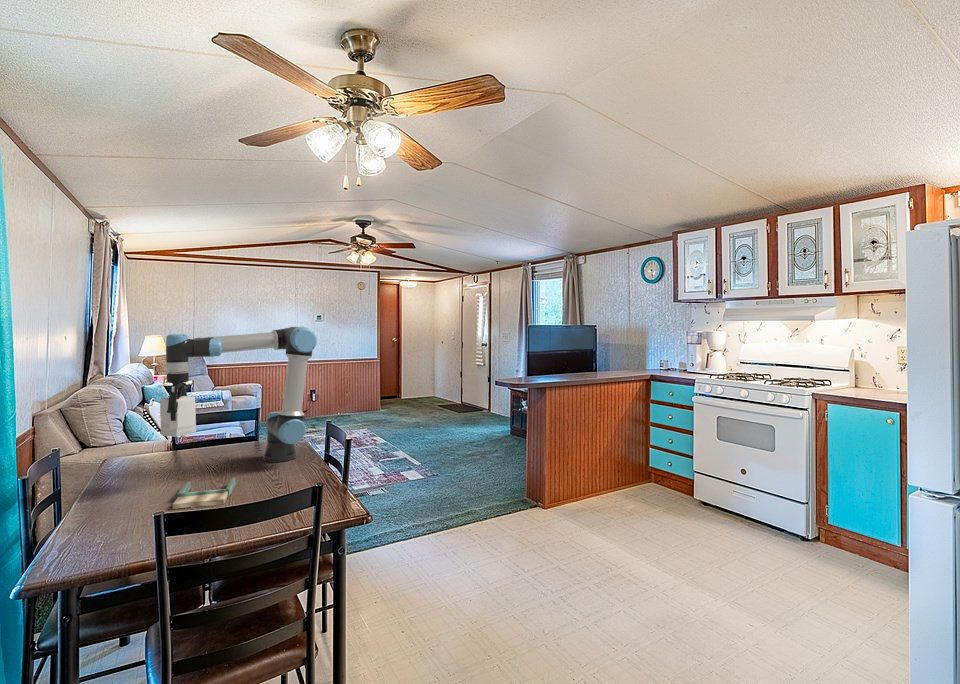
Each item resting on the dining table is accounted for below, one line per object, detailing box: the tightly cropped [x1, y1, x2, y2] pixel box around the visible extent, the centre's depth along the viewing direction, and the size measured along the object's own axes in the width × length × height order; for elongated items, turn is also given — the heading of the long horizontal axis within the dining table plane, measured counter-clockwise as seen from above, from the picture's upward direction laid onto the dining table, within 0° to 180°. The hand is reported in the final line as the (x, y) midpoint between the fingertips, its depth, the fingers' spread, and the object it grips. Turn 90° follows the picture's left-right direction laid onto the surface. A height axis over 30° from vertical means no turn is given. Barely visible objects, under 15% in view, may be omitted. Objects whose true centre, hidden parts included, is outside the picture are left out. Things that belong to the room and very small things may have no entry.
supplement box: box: [159, 395, 197, 438], centre depth 189 cm, size 9×9×15 cm
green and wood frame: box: [172, 476, 237, 510], centre depth 178 cm, size 17×22×3 cm
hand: (178, 425), depth 190 cm, fingers closed on supplement box, 12 cm apart
